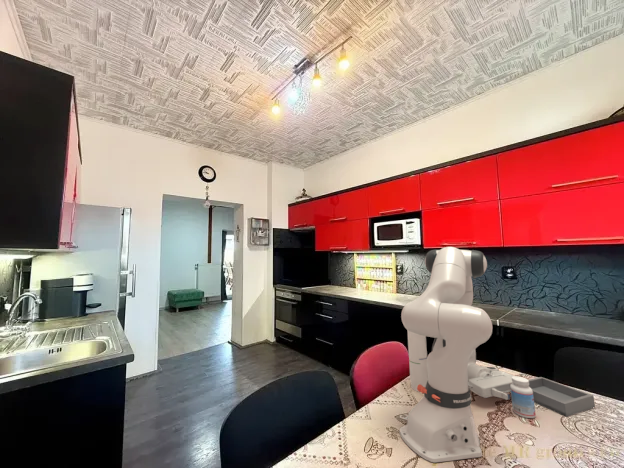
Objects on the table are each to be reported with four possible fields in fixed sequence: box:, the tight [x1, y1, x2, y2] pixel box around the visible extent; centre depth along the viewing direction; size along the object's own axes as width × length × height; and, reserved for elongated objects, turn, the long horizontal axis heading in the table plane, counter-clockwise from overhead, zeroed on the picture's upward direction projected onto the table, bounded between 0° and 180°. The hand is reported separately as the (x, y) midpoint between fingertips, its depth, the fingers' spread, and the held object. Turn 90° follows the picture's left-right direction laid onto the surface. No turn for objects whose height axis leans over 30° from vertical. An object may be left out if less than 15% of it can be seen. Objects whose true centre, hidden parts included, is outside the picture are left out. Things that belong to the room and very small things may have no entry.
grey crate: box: [528, 376, 596, 418], centre depth 95 cm, size 16×16×4 cm
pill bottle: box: [510, 375, 536, 419], centre depth 87 cm, size 6×6×11 cm
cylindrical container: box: [406, 329, 428, 393], centre depth 107 cm, size 7×7×25 cm
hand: (517, 394), depth 89 cm, fingers open, 8 cm apart
